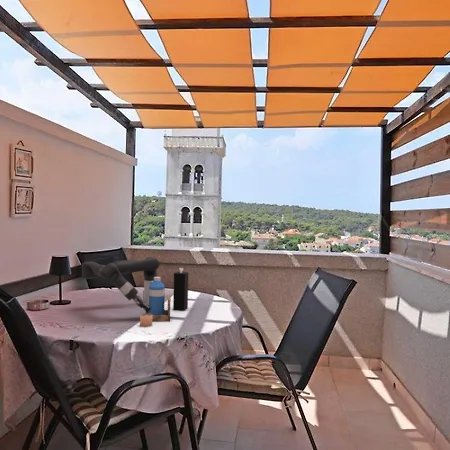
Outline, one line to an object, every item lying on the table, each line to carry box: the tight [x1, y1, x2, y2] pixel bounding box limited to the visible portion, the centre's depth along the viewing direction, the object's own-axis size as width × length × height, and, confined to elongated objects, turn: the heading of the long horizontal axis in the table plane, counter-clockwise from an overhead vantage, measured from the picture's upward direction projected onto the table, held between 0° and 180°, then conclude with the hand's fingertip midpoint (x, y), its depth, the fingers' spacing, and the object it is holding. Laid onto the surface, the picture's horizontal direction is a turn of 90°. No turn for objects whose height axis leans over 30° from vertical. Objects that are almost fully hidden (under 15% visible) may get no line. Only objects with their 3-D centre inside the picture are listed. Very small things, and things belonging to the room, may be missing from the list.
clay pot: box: [139, 312, 153, 328], centre depth 244 cm, size 7×7×6 cm
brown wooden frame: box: [145, 294, 172, 323], centre depth 260 cm, size 15×15×13 cm
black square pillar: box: [172, 267, 189, 312], centre depth 286 cm, size 8×8×28 cm
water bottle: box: [148, 276, 166, 315], centre depth 261 cm, size 9×9×25 cm
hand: (148, 310), depth 259 cm, fingers closed
